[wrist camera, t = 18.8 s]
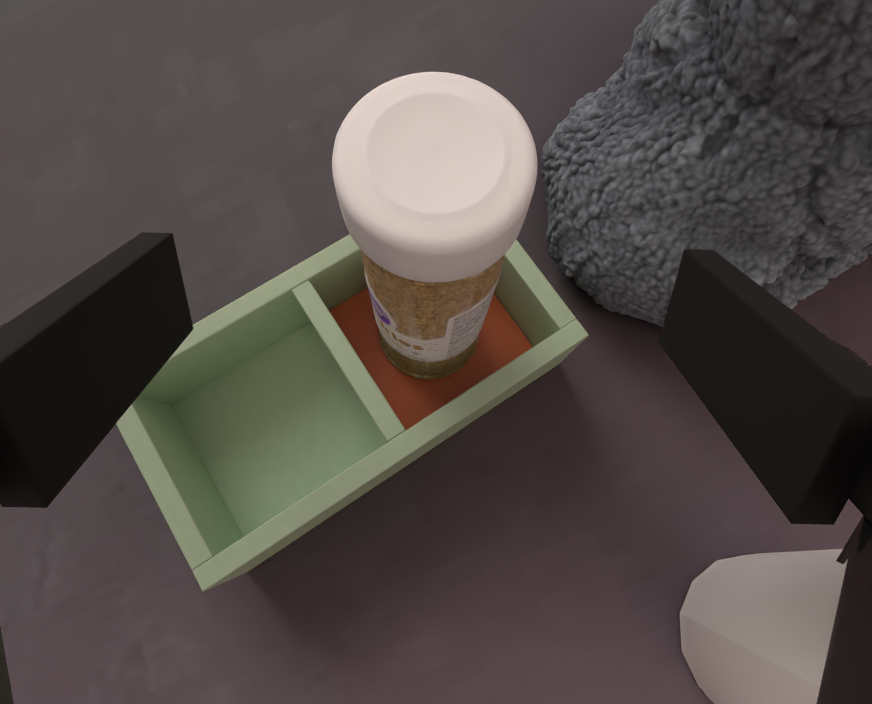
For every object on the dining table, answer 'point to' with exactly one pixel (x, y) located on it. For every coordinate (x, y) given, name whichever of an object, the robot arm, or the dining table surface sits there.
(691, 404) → the dining table surface
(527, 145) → the sprinkles bottle
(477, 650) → the dining table surface
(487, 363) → the green divided tray
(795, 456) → the robot arm
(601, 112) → the koala plush
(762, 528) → the dining table surface
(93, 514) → the dining table surface
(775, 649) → the foam cup
